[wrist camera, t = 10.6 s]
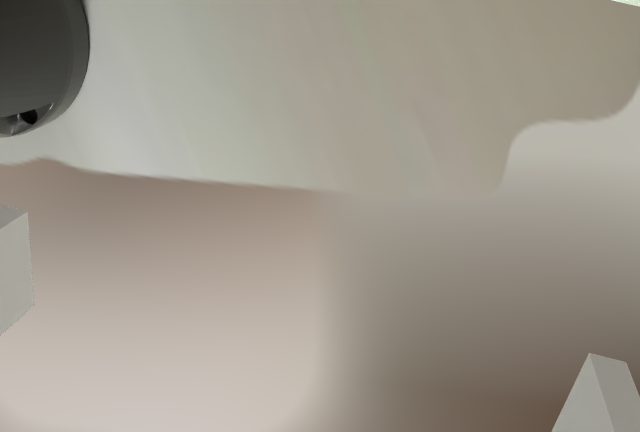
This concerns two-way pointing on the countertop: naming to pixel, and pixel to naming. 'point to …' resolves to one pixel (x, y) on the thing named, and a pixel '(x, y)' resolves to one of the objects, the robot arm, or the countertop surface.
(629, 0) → the tray
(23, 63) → the robot arm
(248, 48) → the countertop surface
